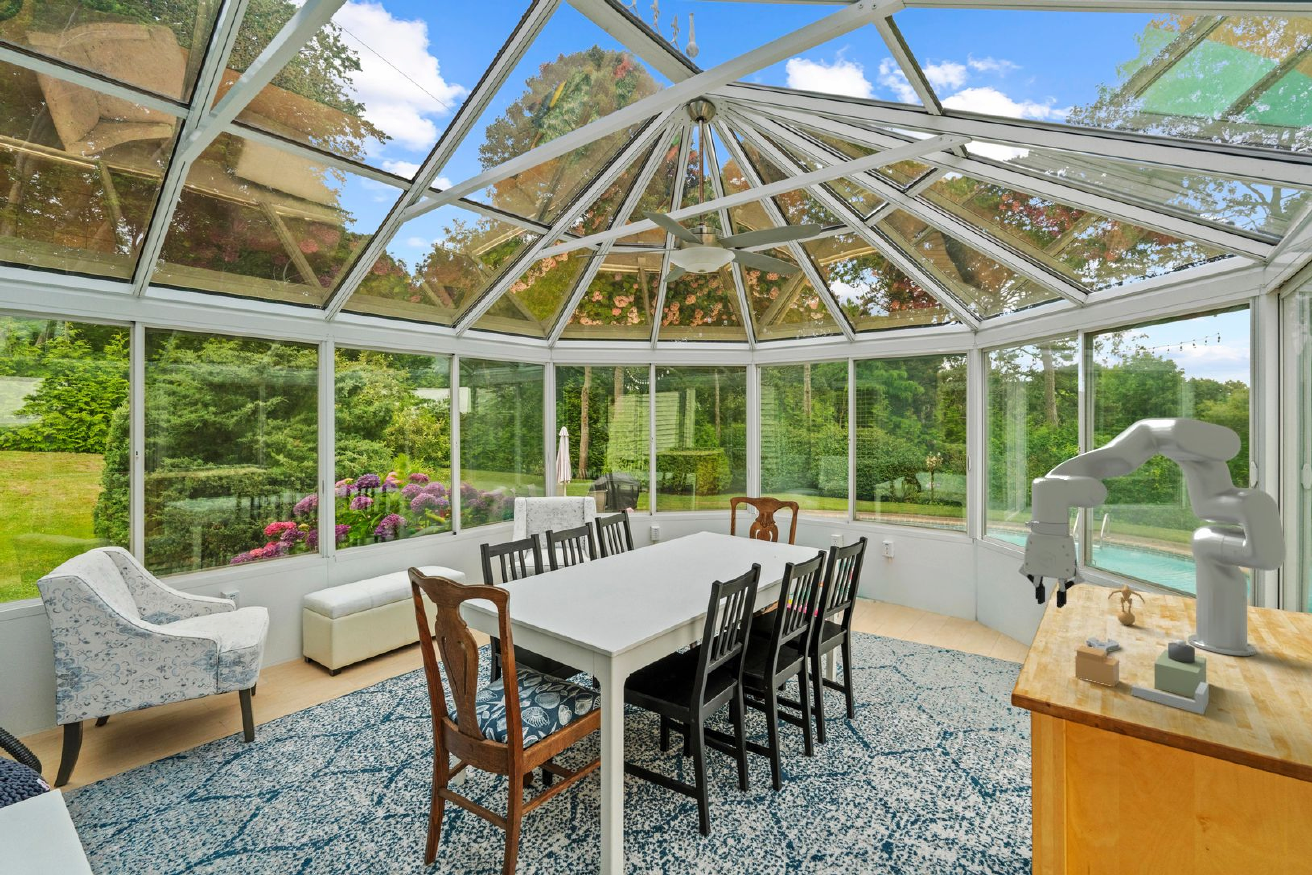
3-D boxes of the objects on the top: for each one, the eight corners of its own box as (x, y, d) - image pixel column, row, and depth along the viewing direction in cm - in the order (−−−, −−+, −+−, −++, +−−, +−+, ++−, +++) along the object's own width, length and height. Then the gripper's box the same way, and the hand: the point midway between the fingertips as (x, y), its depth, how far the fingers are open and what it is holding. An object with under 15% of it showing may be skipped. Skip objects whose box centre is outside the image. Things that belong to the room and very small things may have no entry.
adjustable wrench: (1100, 676, 135) (1100, 668, 135) (1067, 668, 139) (1067, 661, 139) (1120, 647, 152) (1120, 640, 152) (1090, 641, 156) (1090, 634, 156)
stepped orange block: (1081, 671, 136) (1081, 644, 136) (1119, 681, 131) (1118, 653, 131) (1075, 677, 133) (1075, 650, 133) (1113, 687, 128) (1113, 659, 127)
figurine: (1144, 625, 167) (1144, 584, 167) (1145, 631, 162) (1145, 588, 162) (1108, 620, 172) (1108, 580, 172) (1108, 625, 167) (1108, 584, 167)
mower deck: (1151, 669, 137) (1151, 628, 136) (1216, 684, 128) (1216, 641, 128) (1131, 695, 124) (1131, 650, 123) (1202, 714, 115) (1202, 666, 115)
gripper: (1006, 526, 142) (1007, 600, 142) (1087, 535, 130) (1088, 616, 130) (1017, 523, 147) (1017, 594, 147) (1096, 531, 134) (1097, 609, 135)
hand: (1050, 604), depth 139 cm, fingers open, 3 cm apart
